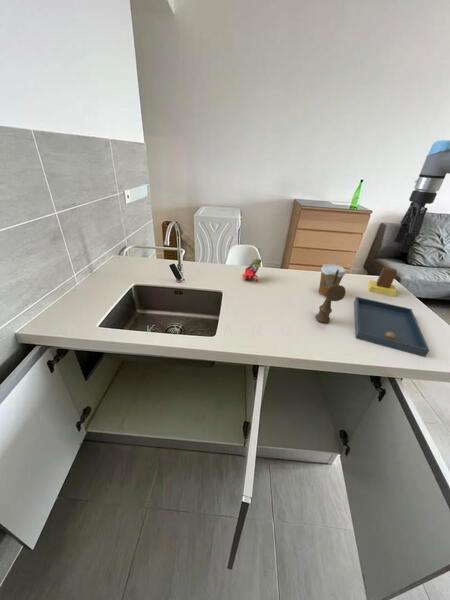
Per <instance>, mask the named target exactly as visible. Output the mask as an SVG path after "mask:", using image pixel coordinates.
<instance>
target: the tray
mask: <svg viewBox="0 0 450 600" xmlns="http://www.w3.org/2000/svg"><path fill="white" fill-rule="evenodd" d="M353 306H354V307H353V309H354V325H355V339H357V340H361V341H365V342H369V343H372V344H375V345H376V344H377V345H380V346H383V347H387V348H391V349H394V350H399V351H402V352H406V353H409V354H413V355H416V356H420V357H424V358H426V357H427V355H428V354H429V352H430V348H429V347H428V343H427V342H426V339H425V337H424V335H423V332H422V330H421V328H420V325H419V323H418V321H417V319H416V316H415V314H414V312H413V308H408V307H405V306H399V305H395V304H391V303H386V302H382V301H377V300H372V299H369V298H365V297H360V296H355V298H354V301H353ZM386 332H393V333H394V334H395V339H394V340H392V339H388V338H385V337H384V334H385V333H386Z"/></svg>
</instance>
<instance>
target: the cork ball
mask: <svg viewBox="0 0 450 600" xmlns="http://www.w3.org/2000/svg"><path fill="white" fill-rule="evenodd" d="M384 337H385V338H388V339H392V340H394V339H395V334H394V333H393V332H386V333H385V334H384Z"/></svg>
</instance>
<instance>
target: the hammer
mask: <svg viewBox="0 0 450 600" xmlns="http://www.w3.org/2000/svg"><path fill="white" fill-rule="evenodd" d="M397 273H398V271H397V269H396V268H390V267H384V266H383V267H382V269H381V271H380V273H379V276H378V278H377V281H376V280H369V281H368V285H367V287H368V291H369V292H371V293H375V294H379V295H385V296H390V297H395V296H396V294H397V290H396V286H395V285H394V284H393V282H394V280H395V278H396V275H397Z"/></svg>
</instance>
